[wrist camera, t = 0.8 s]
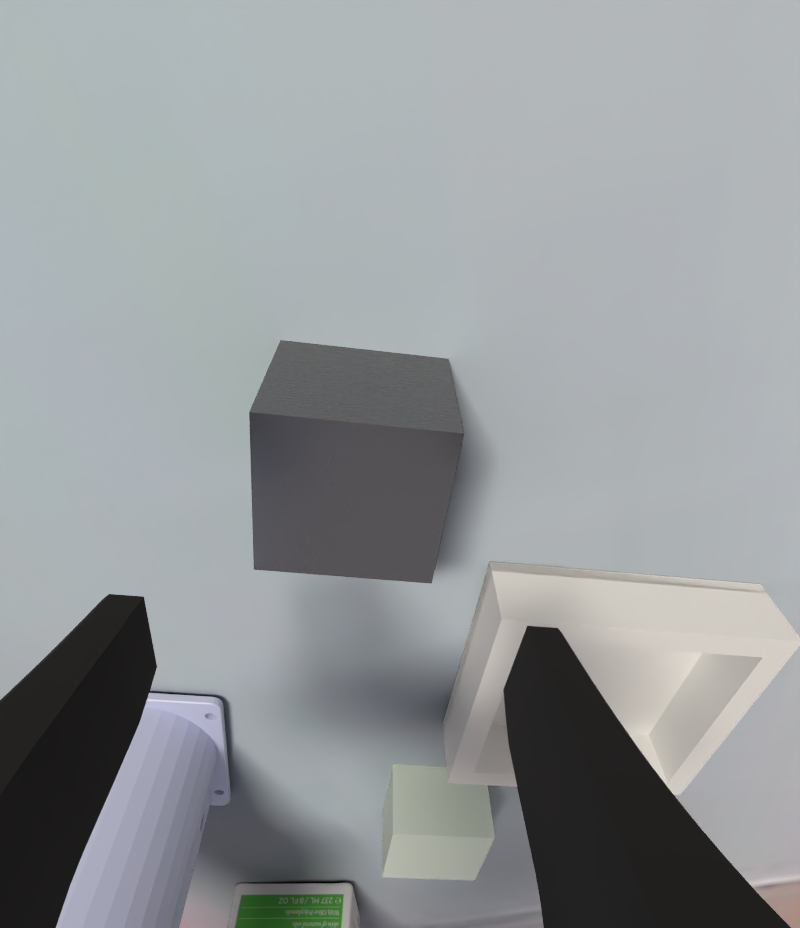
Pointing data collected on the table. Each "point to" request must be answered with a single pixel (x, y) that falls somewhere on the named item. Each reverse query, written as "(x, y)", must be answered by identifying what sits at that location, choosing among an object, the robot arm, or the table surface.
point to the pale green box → (434, 825)
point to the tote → (620, 661)
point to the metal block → (352, 462)
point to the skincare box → (294, 906)
